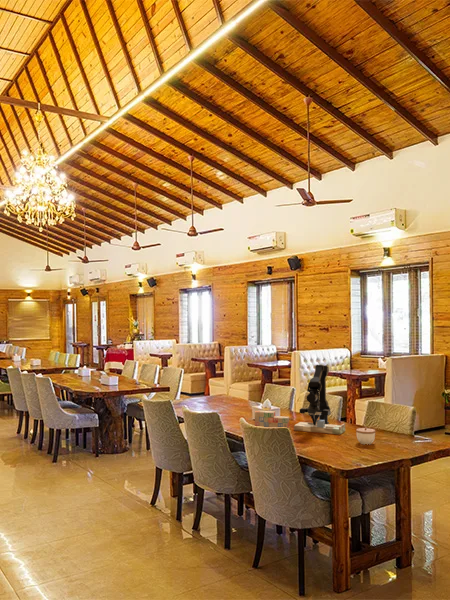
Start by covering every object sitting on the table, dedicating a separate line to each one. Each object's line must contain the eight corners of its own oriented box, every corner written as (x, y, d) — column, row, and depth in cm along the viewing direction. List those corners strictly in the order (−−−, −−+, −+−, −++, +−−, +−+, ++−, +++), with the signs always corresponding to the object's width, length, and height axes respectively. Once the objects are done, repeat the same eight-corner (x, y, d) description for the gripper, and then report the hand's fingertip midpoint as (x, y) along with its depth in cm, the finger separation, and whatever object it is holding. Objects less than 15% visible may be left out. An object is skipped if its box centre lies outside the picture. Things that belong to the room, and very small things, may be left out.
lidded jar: (362, 446, 315) (361, 429, 315) (352, 441, 325) (352, 425, 325) (378, 444, 318) (378, 428, 318) (369, 440, 328) (369, 424, 328)
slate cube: (318, 425, 356) (318, 419, 357) (324, 426, 355) (324, 420, 355) (317, 427, 353) (316, 420, 353) (323, 427, 351) (323, 421, 351)
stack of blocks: (289, 431, 355) (289, 411, 355) (287, 433, 349) (287, 413, 350) (257, 429, 362) (257, 410, 362) (254, 430, 356) (254, 411, 356)
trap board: (300, 426, 370) (300, 419, 370) (345, 430, 357) (345, 423, 357) (293, 430, 358) (293, 423, 358) (340, 434, 345) (340, 427, 345)
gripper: (296, 401, 353) (296, 426, 353) (325, 403, 345) (325, 428, 345) (302, 398, 363) (302, 423, 363) (330, 400, 355) (330, 425, 355)
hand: (314, 425), depth 356 cm, fingers closed
